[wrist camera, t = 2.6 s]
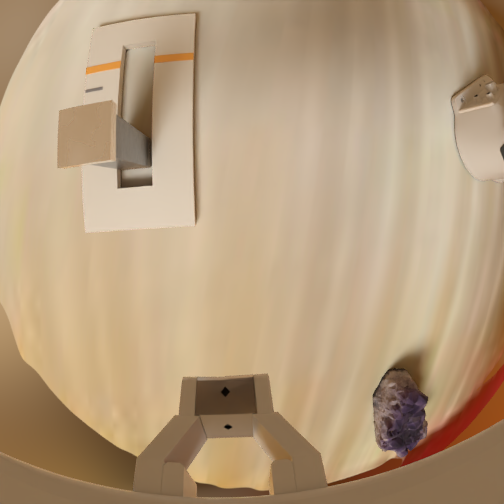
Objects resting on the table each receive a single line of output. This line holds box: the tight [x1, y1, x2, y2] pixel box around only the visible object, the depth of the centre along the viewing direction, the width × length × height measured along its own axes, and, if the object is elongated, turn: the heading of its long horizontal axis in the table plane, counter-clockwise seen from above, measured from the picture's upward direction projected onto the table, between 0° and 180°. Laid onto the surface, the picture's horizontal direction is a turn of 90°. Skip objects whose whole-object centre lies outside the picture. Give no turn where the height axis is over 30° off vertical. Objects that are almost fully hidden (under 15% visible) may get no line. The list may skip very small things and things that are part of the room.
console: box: [82, 13, 196, 233], centre depth 32 cm, size 28×14×2 cm, turn 1°
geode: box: [373, 368, 428, 457], centre depth 44 cm, size 20×12×10 cm, turn 21°
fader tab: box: [58, 100, 151, 170], centre depth 25 cm, size 4×4×16 cm
